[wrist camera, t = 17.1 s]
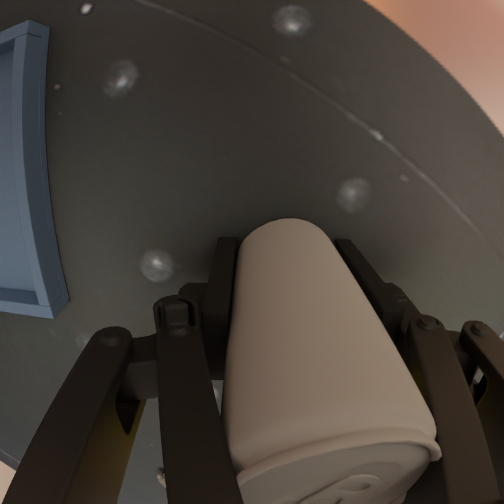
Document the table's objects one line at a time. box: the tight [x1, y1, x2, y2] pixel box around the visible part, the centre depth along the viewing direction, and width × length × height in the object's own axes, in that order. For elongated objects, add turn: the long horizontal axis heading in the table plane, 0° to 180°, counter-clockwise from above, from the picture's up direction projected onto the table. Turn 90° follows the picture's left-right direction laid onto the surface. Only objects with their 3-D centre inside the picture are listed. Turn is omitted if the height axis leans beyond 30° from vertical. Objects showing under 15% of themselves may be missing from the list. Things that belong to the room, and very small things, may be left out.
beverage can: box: [220, 218, 442, 504], centre depth 10 cm, size 5×5×12 cm
